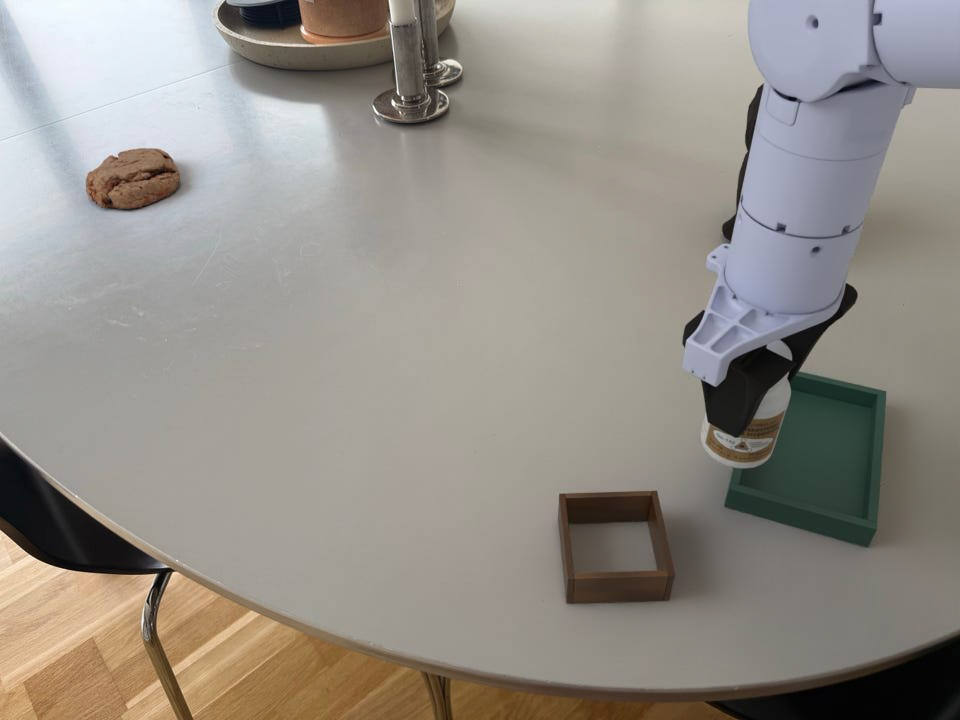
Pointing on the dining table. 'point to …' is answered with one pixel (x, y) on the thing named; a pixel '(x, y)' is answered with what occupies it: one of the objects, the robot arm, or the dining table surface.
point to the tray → (820, 462)
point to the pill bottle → (752, 426)
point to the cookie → (133, 179)
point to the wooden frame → (615, 583)
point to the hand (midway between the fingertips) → (747, 403)
